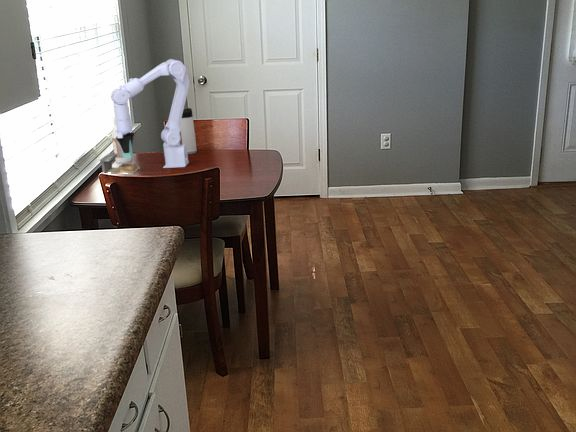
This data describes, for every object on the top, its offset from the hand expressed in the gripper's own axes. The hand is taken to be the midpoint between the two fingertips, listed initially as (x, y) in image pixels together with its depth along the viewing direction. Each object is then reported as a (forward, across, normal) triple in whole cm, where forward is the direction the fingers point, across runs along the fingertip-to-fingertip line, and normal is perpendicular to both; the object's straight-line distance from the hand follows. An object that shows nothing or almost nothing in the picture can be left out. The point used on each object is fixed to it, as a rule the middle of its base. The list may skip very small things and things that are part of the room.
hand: (127, 151), depth 266 cm
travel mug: (+9, -31, +19) cm, 38 cm away
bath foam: (+9, -21, -9) cm, 24 cm away
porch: (+9, -2, -4) cm, 10 cm away
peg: (+2, 0, 0) cm, 2 cm away
